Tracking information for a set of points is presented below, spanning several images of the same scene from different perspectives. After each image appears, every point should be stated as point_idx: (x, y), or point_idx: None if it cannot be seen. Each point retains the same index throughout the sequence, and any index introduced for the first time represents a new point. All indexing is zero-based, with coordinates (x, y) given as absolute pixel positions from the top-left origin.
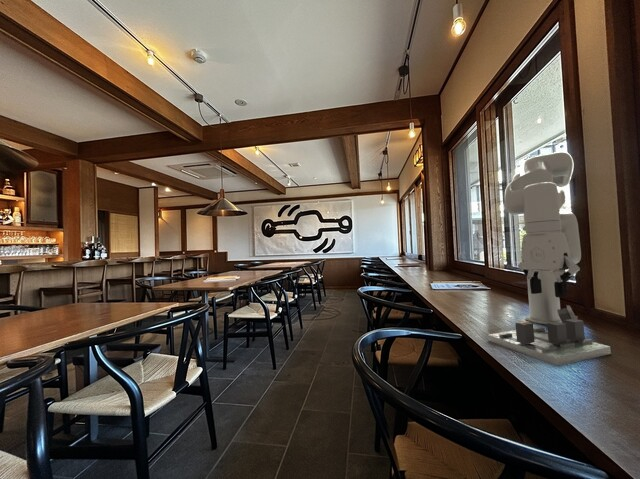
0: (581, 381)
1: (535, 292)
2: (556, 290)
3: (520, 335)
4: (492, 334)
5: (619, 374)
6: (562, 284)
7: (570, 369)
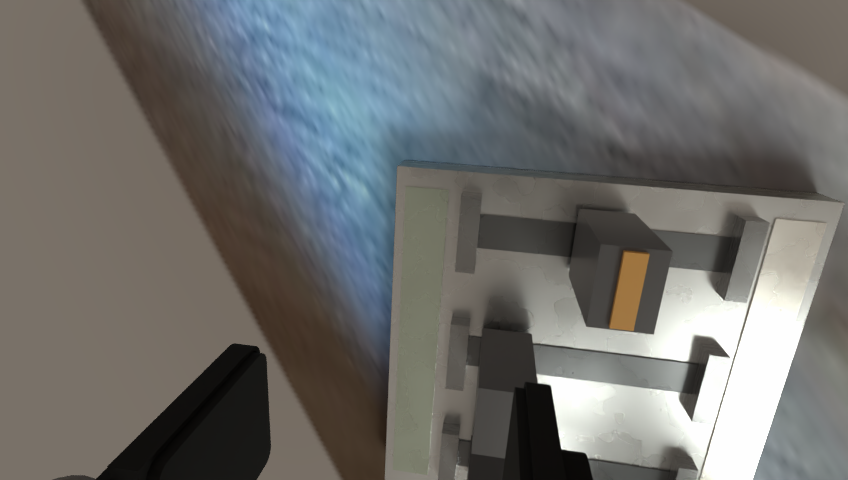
0: (271, 84)
1: (511, 412)
2: (202, 386)
3: (615, 221)
4: (821, 226)
5: (267, 274)
6: (103, 478)
7: (359, 170)
